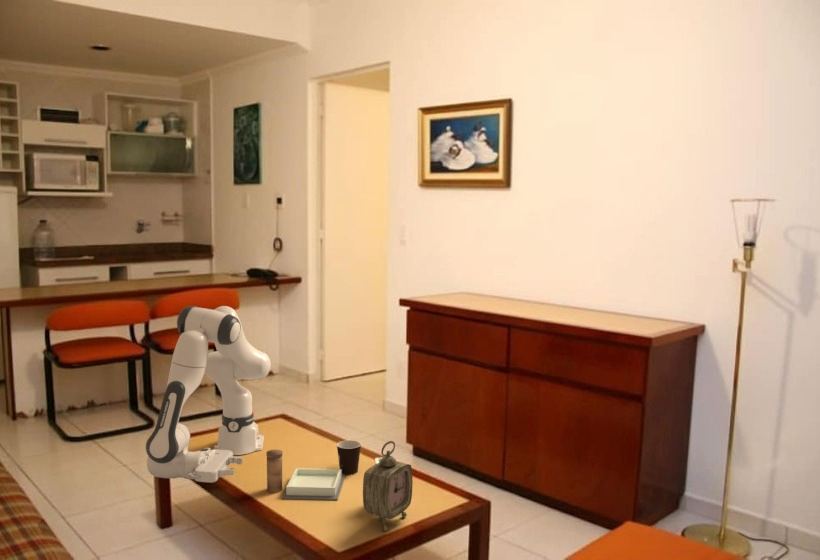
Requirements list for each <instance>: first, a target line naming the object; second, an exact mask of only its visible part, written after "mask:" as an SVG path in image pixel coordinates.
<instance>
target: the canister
mask: <svg viewBox="0 0 820 560" xmlns="http://www.w3.org/2000/svg"><path fill="white" fill-rule="evenodd" d="M266 491H267V492H268V493H270V494H276V493H280V492H282V491H283V451H282V450H281V449H270V450H267V451H266Z"/></svg>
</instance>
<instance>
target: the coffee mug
mask: <svg viewBox="0 0 820 560" xmlns="http://www.w3.org/2000/svg"><path fill="white" fill-rule="evenodd" d="M361 445H362V443H361V442H360V441H358V440H352V439H347V440H342V441H338V442H337V443H336V449H337V457H338V467H339V469H342V475H345V476H346V475H348V476H349V475H350V476H351V474H352V475H355V474H357V473H358V471H359V463H360V455H361V454H360V453H361Z"/></svg>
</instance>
